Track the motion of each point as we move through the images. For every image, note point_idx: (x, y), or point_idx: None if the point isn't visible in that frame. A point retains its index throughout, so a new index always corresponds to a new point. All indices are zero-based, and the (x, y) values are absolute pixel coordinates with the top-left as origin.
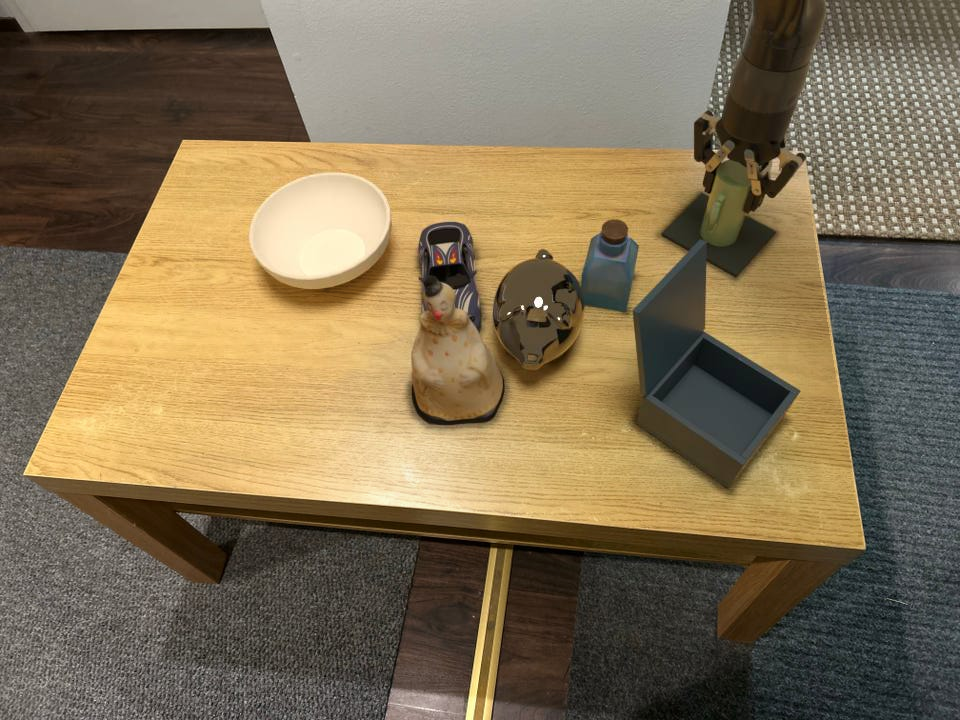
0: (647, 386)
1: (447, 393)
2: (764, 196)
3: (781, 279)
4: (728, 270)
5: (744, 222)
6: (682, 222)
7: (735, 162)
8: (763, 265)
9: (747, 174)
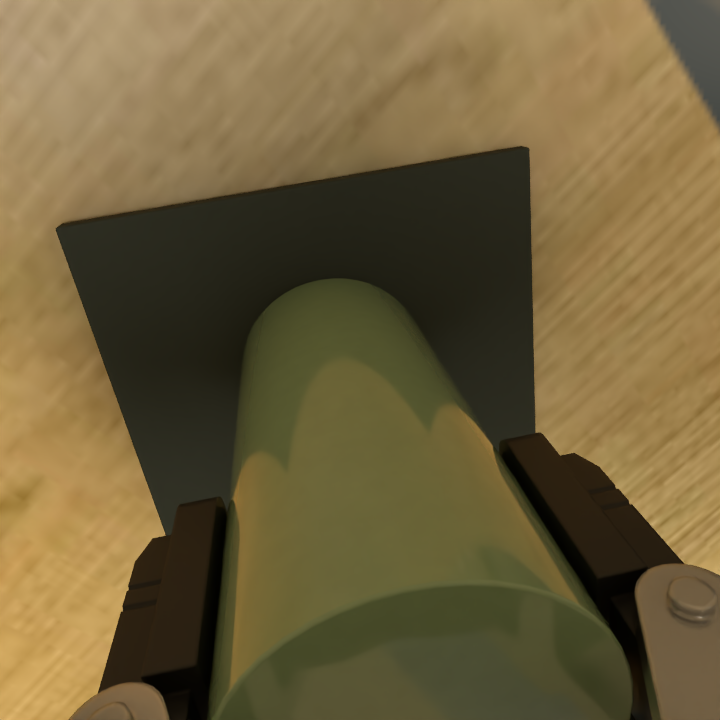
0: None
1: None
2: (643, 519)
3: (671, 337)
4: None
5: (375, 223)
6: (176, 445)
7: (302, 696)
8: (579, 337)
9: (508, 701)
